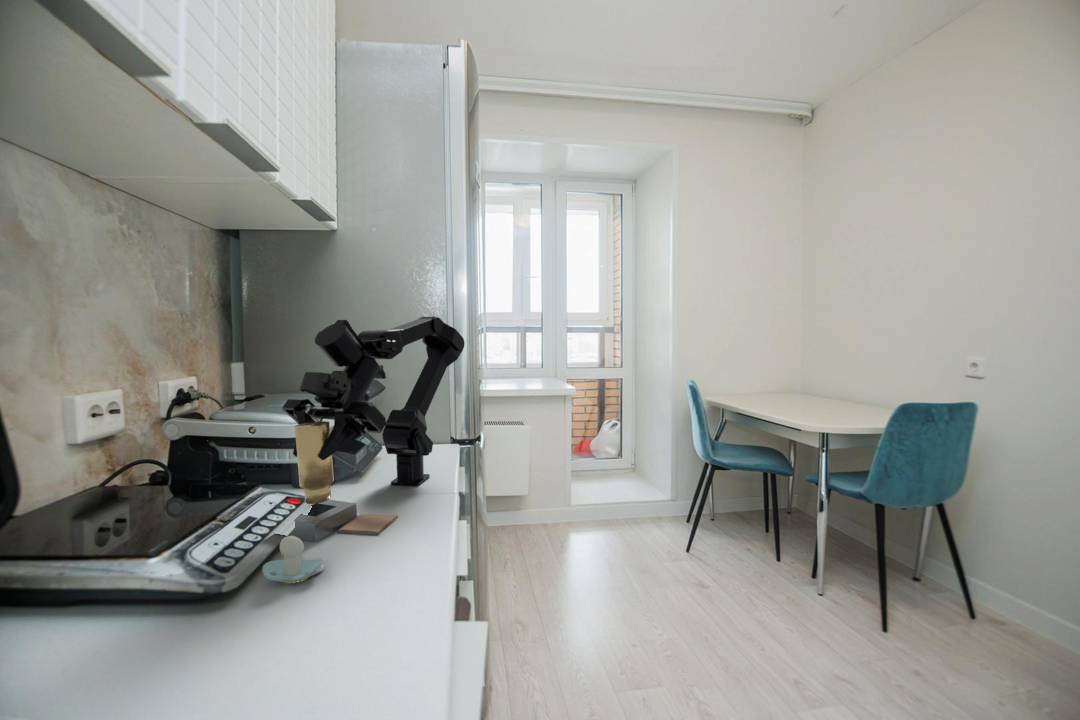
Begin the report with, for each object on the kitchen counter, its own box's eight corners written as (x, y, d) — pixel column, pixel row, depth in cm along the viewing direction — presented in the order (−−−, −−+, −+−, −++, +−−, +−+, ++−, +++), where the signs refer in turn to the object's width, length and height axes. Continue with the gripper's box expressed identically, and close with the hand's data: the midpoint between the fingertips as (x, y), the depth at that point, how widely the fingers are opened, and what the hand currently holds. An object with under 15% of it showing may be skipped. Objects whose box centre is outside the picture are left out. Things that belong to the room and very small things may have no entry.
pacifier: (280, 567, 66) (257, 589, 60) (279, 523, 66) (255, 541, 60) (333, 565, 66) (315, 587, 60) (332, 522, 66) (313, 539, 60)
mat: (361, 515, 83) (361, 512, 83) (398, 517, 82) (398, 514, 82) (338, 532, 76) (338, 529, 76) (378, 534, 75) (378, 531, 75)
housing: (317, 513, 84) (317, 497, 84) (357, 520, 81) (356, 503, 81) (273, 534, 76) (272, 516, 76) (315, 542, 73) (314, 523, 73)
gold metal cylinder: (313, 494, 81) (307, 421, 80) (341, 494, 80) (335, 421, 80) (294, 505, 76) (287, 427, 75) (323, 505, 75) (317, 427, 75)
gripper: (288, 354, 84) (232, 426, 74) (372, 354, 77) (322, 434, 68) (324, 391, 92) (278, 461, 82) (403, 395, 85) (363, 471, 75)
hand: (308, 457), depth 77 cm, fingers closed on gold metal cylinder, 5 cm apart
